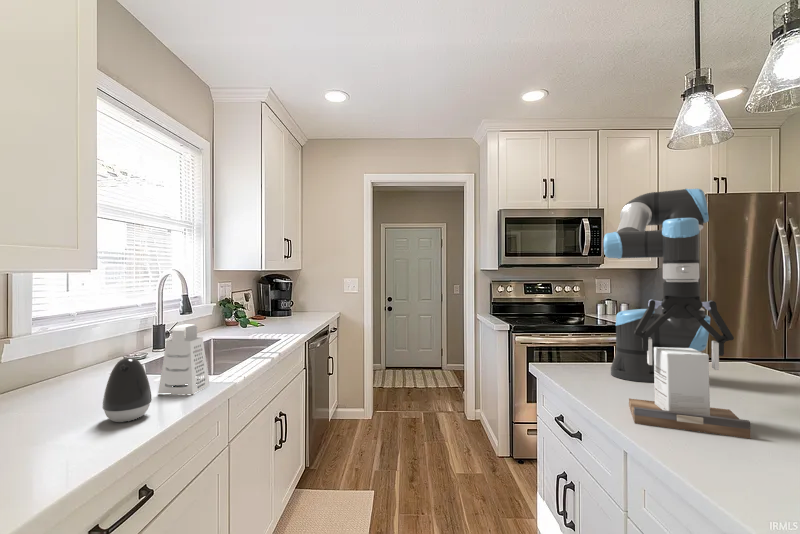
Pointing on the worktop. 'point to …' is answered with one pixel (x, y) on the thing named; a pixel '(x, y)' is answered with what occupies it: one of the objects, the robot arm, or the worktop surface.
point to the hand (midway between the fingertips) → (681, 366)
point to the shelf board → (690, 419)
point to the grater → (184, 362)
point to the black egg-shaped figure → (127, 391)
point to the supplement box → (682, 380)
